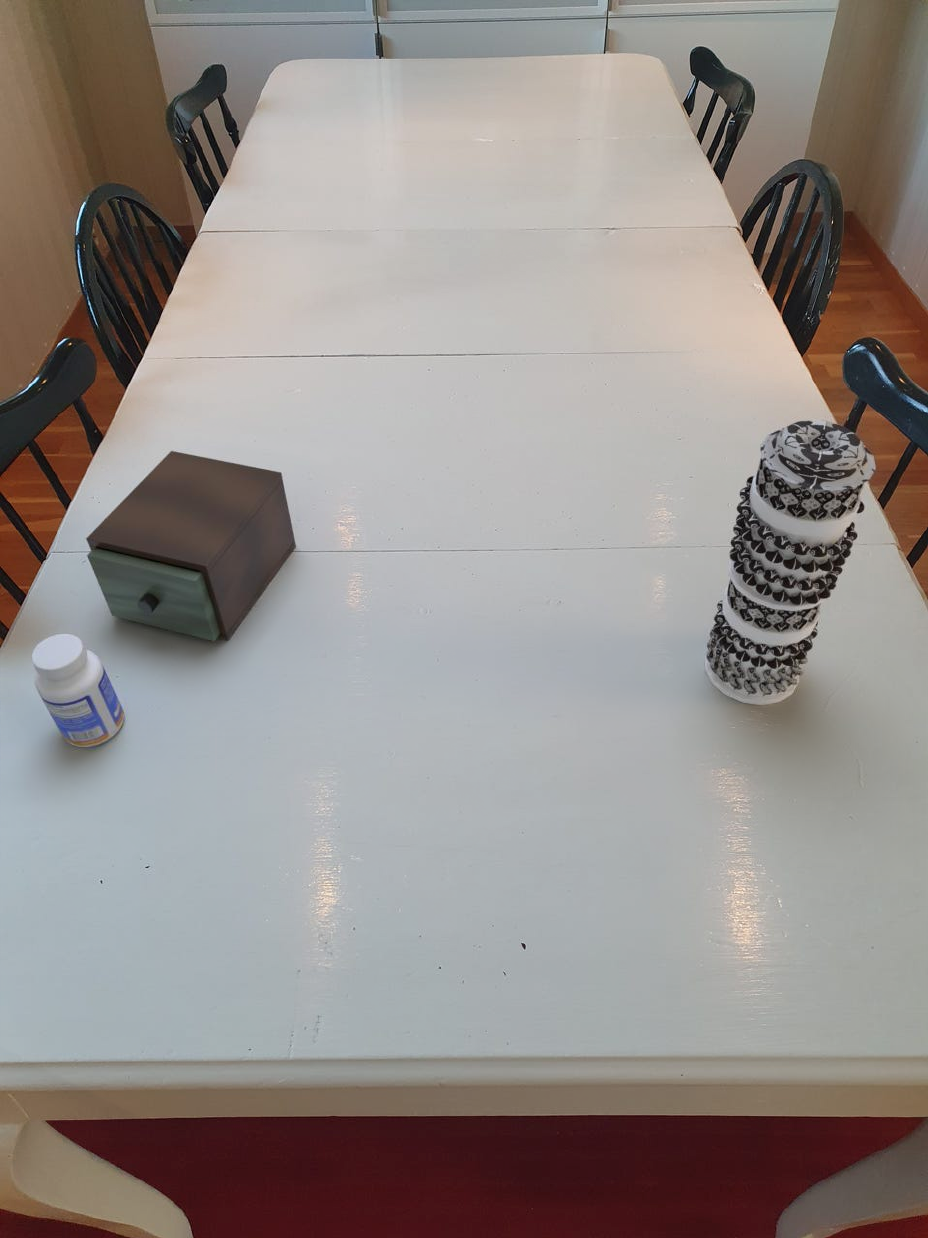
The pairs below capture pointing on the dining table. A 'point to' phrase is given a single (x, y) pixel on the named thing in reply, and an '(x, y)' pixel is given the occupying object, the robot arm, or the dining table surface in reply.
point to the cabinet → (207, 528)
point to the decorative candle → (786, 557)
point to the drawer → (155, 593)
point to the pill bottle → (76, 691)
